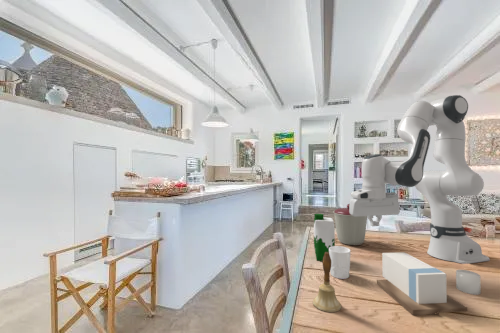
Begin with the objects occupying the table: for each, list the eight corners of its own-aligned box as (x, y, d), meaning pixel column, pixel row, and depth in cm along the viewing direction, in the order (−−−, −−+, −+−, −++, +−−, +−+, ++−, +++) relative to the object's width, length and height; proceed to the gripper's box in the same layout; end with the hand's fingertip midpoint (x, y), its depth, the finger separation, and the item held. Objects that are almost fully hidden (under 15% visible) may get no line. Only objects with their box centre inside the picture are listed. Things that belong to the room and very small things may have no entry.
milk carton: (313, 254, 116) (313, 212, 116) (333, 255, 114) (332, 212, 114) (314, 261, 108) (314, 216, 108) (336, 262, 106) (335, 216, 106)
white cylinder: (468, 286, 84) (468, 269, 84) (485, 296, 78) (485, 277, 78) (451, 287, 84) (451, 269, 84) (467, 296, 78) (467, 277, 78)
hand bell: (333, 296, 79) (332, 247, 79) (346, 311, 71) (345, 256, 71) (308, 298, 78) (308, 248, 78) (319, 313, 70) (318, 258, 70)
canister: (346, 249, 122) (345, 207, 122) (326, 238, 140) (326, 202, 140) (377, 246, 126) (376, 205, 126) (354, 236, 144) (353, 200, 144)
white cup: (348, 281, 89) (348, 254, 89) (326, 276, 93) (326, 250, 93) (352, 273, 95) (352, 247, 95) (331, 269, 100) (331, 244, 99)
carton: (404, 252, 90) (446, 273, 72) (405, 275, 90) (446, 302, 72) (382, 252, 89) (418, 274, 71) (382, 276, 89) (418, 304, 71)
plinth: (420, 282, 87) (420, 278, 87) (467, 312, 69) (467, 307, 69) (376, 284, 87) (376, 279, 87) (412, 315, 69) (412, 309, 69)
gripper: (393, 191, 106) (394, 222, 106) (347, 193, 105) (348, 225, 105) (402, 192, 100) (403, 226, 100) (353, 195, 99) (355, 229, 99)
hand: (374, 225), depth 102 cm, fingers closed
